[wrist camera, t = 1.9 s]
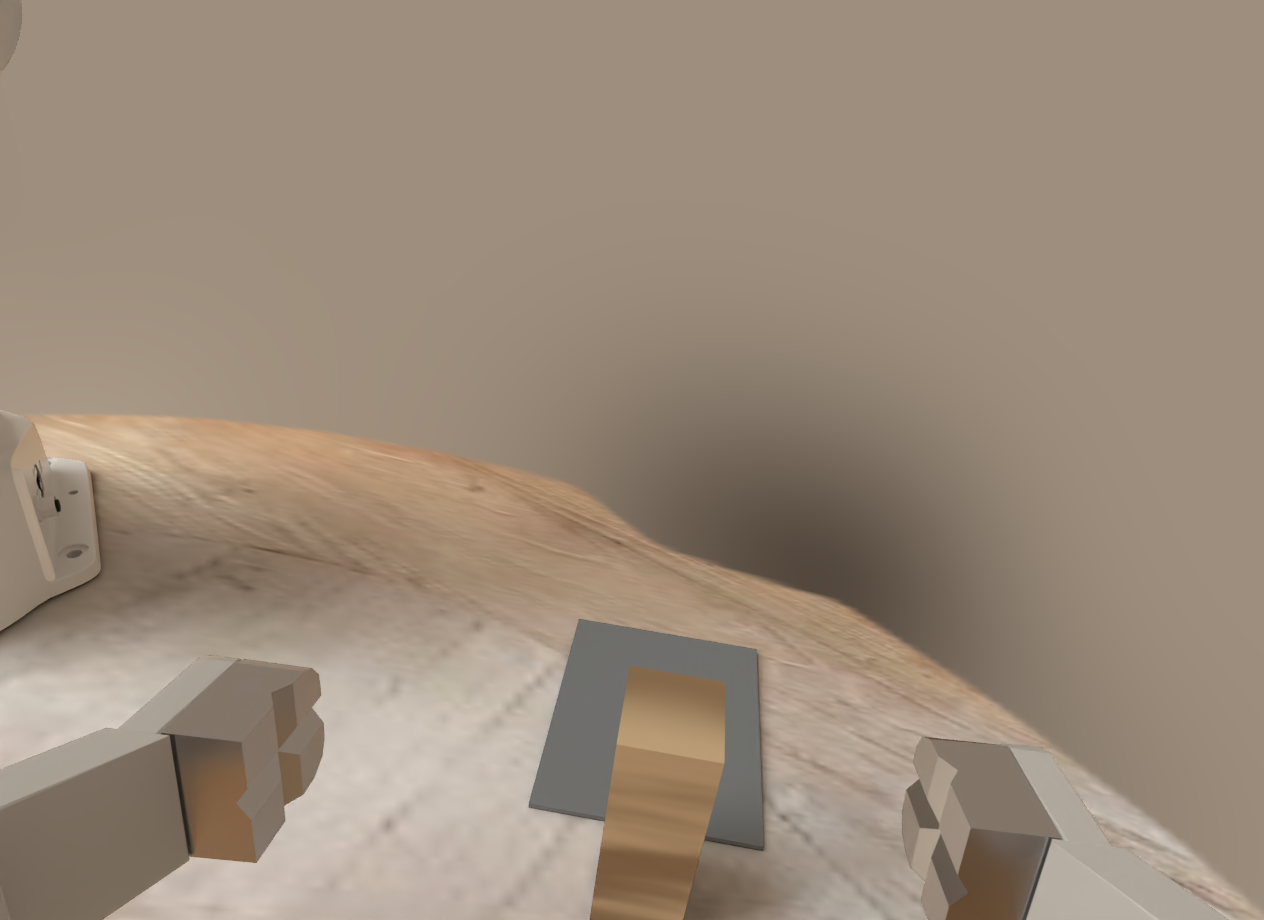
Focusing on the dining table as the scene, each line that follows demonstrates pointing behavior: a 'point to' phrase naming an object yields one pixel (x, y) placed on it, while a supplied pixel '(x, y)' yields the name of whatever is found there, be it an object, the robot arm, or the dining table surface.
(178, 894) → the dining table surface
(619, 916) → the oak block
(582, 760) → the felt mat
